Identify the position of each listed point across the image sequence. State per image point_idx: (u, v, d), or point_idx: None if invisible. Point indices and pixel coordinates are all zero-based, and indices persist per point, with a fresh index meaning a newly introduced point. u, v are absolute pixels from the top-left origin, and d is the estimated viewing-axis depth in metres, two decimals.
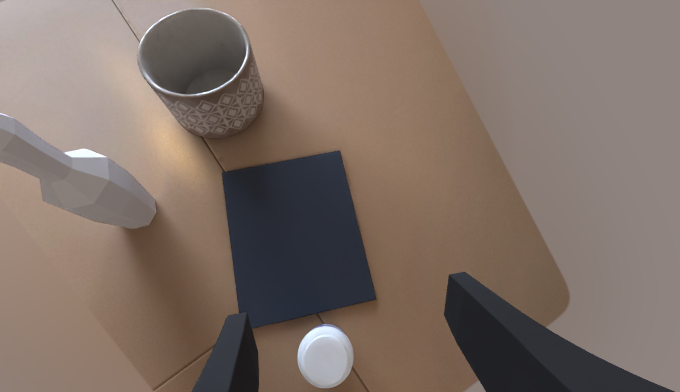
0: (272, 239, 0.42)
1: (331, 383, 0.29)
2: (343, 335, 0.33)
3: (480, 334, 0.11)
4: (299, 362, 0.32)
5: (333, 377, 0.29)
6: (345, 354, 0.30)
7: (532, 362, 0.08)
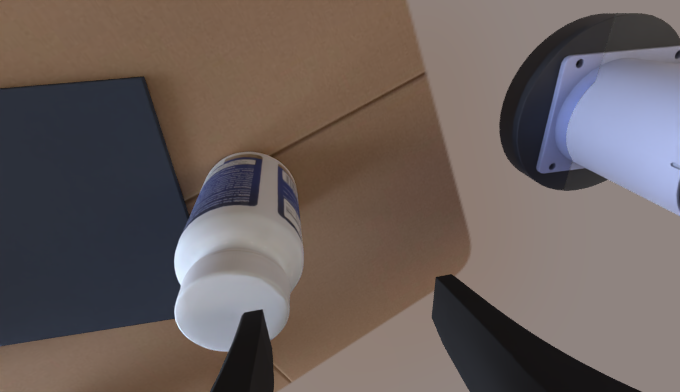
0: (36, 278, 0.21)
1: (285, 304, 0.12)
2: (191, 234, 0.13)
3: (465, 337, 0.10)
4: None
5: (272, 301, 0.12)
6: (219, 277, 0.11)
7: (514, 366, 0.08)
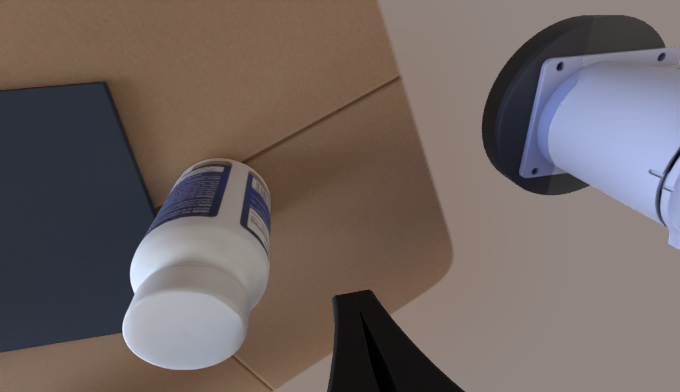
0: (2, 288, 0.20)
1: (241, 321, 0.12)
2: (145, 247, 0.13)
3: (371, 357, 0.10)
4: None
5: (227, 318, 0.11)
6: (167, 295, 0.11)
7: None
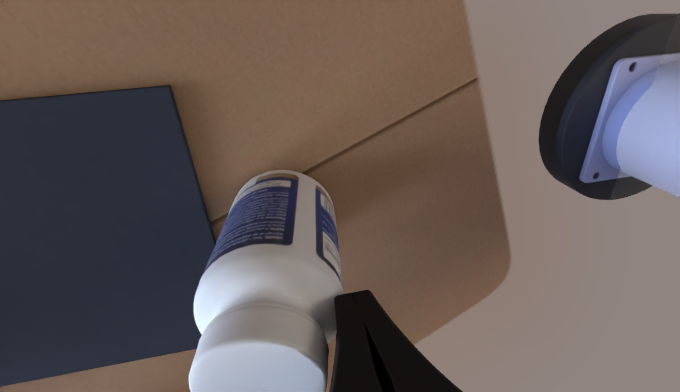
0: (41, 311, 0.18)
1: (322, 377, 0.10)
2: (213, 278, 0.11)
3: None
4: None
5: (307, 373, 0.10)
6: (243, 346, 0.09)
7: None
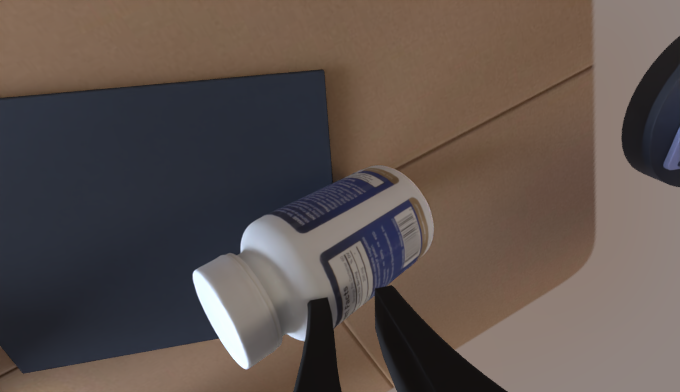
0: (174, 283, 0.20)
1: (243, 349, 0.11)
2: (248, 227, 0.13)
3: (396, 352, 0.10)
4: None
5: (235, 336, 0.11)
6: (204, 281, 0.11)
7: (428, 386, 0.08)
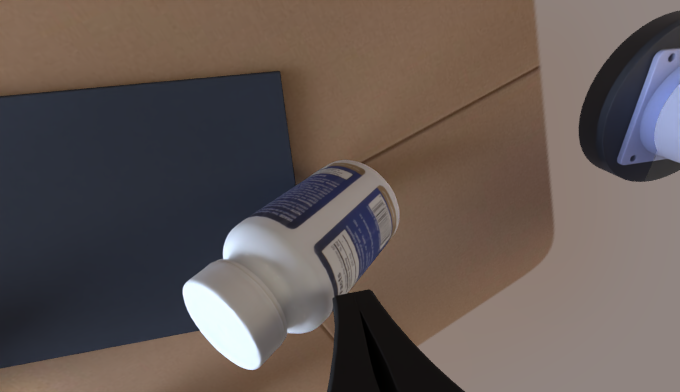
0: (143, 278, 0.20)
1: (256, 348, 0.11)
2: (232, 232, 0.13)
3: (371, 357, 0.10)
4: None
5: (245, 337, 0.11)
6: (204, 289, 0.11)
7: None
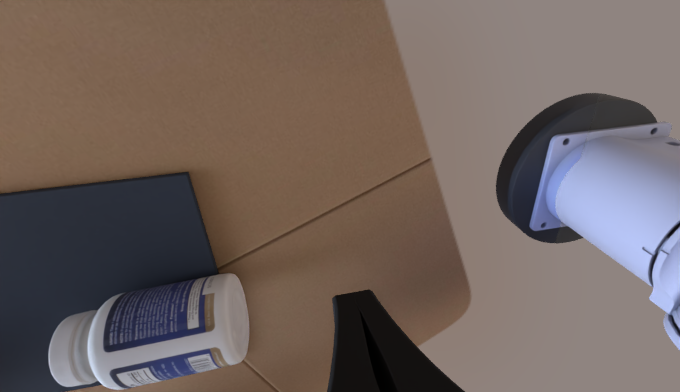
0: None
1: None
2: None
3: (371, 357, 0.10)
4: None
5: None
6: None
7: None
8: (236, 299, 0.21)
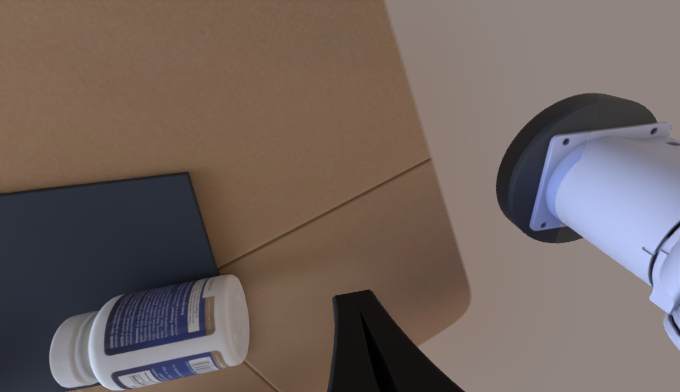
0: None
1: None
2: (99, 311, 0.19)
3: (371, 357, 0.10)
4: None
5: None
6: (52, 347, 0.18)
7: None
8: (236, 300, 0.21)
